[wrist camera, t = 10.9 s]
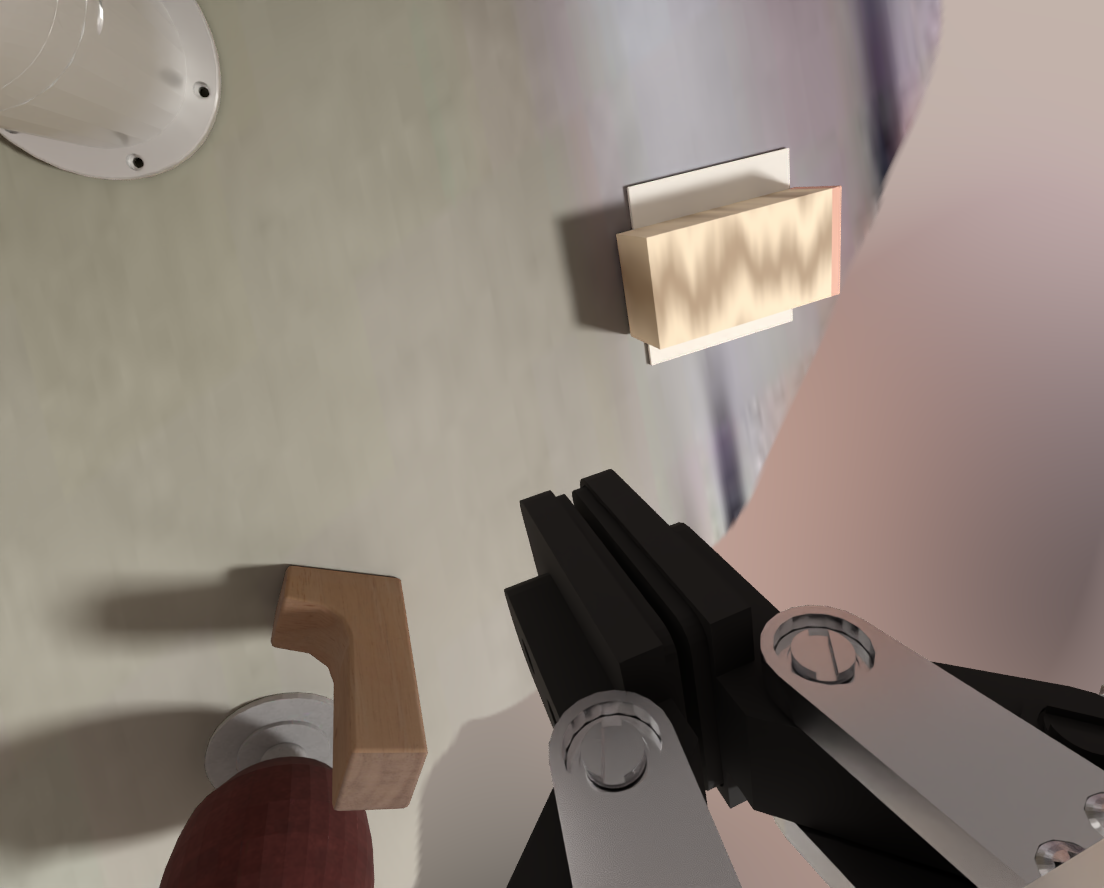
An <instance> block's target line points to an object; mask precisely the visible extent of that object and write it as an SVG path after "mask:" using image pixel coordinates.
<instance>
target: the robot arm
mask: <svg viewBox="0 0 1104 888" xmlns="http://www.w3.org/2000/svg"><path fill="white" fill-rule="evenodd" d="M221 84H222V79H221V70H220V62H219V55H218V52H217V49H216V45H215V42H214V38H213V35H212V31H211V29H210V27H209V25H208V23H207V21H206V19H205V17H204V14H203V12H202V10H201V8H200V6H199V5H198V3H197V2H196V0H0V134H1V135H2V136H4V137H5V138H6V139H7V140H8V141H10V142H11V143H13V144H15V145H16V146H18V147H19V148H21V149H22V150H24V151H26V152H27V153H29V154H30V155H32V156H33V157H35V158H38V159H40V160H42V161H44V162H46V163H49V164H51V165H53V166H55V167H57V168H60V169H62V170H66V171H69V172H73V173H76V174H80V175H83V176H87V177H93V178H100V179H110V180H134V179H141V178H147V177H153V176H156V175H158V174H161V173H164V172H166V171H169V170H172V169H174V168H175V167H177V166H178V165H180V164H181V163H183V162H184V161H186V160H187V159H189V158H190V157H191V156H192V155H193V154H194V153H195V152H196V151H197V150H198V149H199V147H200V146H201V145H202V144H203V143H204V142H205V140H206V138H207V136H208V134H209V133H210V131H211V129H212V127H213V126H214V123H215V119H216V116H217V113H218V109H219V106H220V97H221ZM202 88H207V89H208V91H209V96H208V97H206V98H205V97H202V96H201V94H200V90H201V89H202ZM137 158H140V159H142V161H143V163H144V165H143V167H141V168H139V167H137V166H136V164H135V160H136V159H137ZM572 497H573V503H574V505H573V504H572V502H571V501H570V500H569V499H568V497H567V496H566V495H565V494H562V495H560V496H557V497H555V495H554V494H553V493H552V491H551V490H549V491H546V492H543V493H540V494H537V495H535V496H532V497H529V498H526V499H523V500H520V508H521V512H522V516H523V520H524V523H525V527H526V531H527V535H528V538H529V542H530V546H531V550H532V553H533V557H534V561H535V565H536V568H537V572H538V576H537V577H534V578H532V579H529V580H527V581H524V582H521V583H519V584H516V585H514V586H511V587H508V588H506V589H504V592H505V596H506V600H507V603H508V607H509V610H510V613H511V616H512V620H513V623H514V626H515V629H516V632H517V635H518V638H519V641H520V644H521V647H522V650H523V653H524V656H525V658H526V661H527V664H528V667H529V669H530V672H531V674H532V677H533V679H534V682H535V684H536V687H537V689H538V692H539V694H540V697H541V699H542V702H543V704H544V707H545V709H546V711H547V714H548V717H549V719H550V721H551V724H552V726H553V732H552V735H551V738H550V741H549V765H550V770H551V775H552V781H553V786H554V787H553V789H552V791H551V793H550V795H549V798H548V800H547V802H546V804H545V806H544V808H543V811H542V813H541V815H540V817H539V819H538V821H537V823H536V825H535V828H534V830H533V832H532V834H531V836H530V838H529V840H528V843H527V845H526V847H525V849H524V851H523V853H522V856H521V858H520V860H519V862H518V864H517V866H516V868H515V871H514V873H513V875H512V877H511V879H510V881H509V883H508V885H507V888H742V886H741V884H740V882H739V879H738V877H737V875H736V872H735V870H734V868H733V865H732V863H731V861H730V859H729V856H728V854H727V852H726V849H725V847H724V845H723V842H722V840H721V837H720V835H719V833H718V830H717V828H716V826H715V823H714V821H713V819H712V816H711V814H710V812H709V810H708V807H707V800H706V793H705V790H707V791H708V790H710V789H712V788H714V787H717V788H718V790H719V792H720V793H721V795H722V796H723V798H724V799H725V801H726V803H727V804H728V806H729V807H730V808H732V807H735V806H736V805H738V804H740V803H742V802H744V801H746V800H747V801H748V802H749V804H750V805H751V806H752V808H753V809H754V810H756V811H760V812H763V813H766V814H769V815H772V816H773V817H774V820H775V823H776V824H777V825H778V827H779V829H780V830H781V831H782V833H783V834H784V836H785V837H786V838H787V840H788V841H789V842H790V843H791V844H792V845H793V846H794V847H795V848H796V850H797V851H798V852H799V853H800V854H801V855H802V856H803V857H804V859H805V860H806V861H807V862H808V863H809V864H810V865H811V866H812V867H813V868H814V870H815V871H816V872H817V873H818V874H819V875H820V876H821V878H822V879H823V880H824V881H825V882H826V883H827V884H828V885H829V886H830V888H1104V685H1102V686H1101V690H1100V693H1099V695H1098V694H1096V693H1092V692H1089V691H1085V690H1081V689H1077V688H1073V687H1070V686H1064V685H1059V684H1053V683H1048V682H1042V681H1037V680H1031V679H1026V678H1019V677H1014V676H1008V675H1003V674H998V673H992V672H987V671H981V670H975V669H970V668H964V667H959V666H953V665H948V664H942V663H936V662H931V661H929V660H927V659H926V658H924V657H922V656H921V655H919V654H918V653H916V652H914V651H913V650H911V649H910V648H908V647H907V646H905V645H903V644H902V643H900V642H899V641H897V640H895V639H894V638H892V637H891V636H889V635H888V634H886V633H884V632H883V631H881V630H880V629H878V628H876V627H875V626H873V625H871V624H870V623H868V622H867V621H865V620H864V619H862V618H859V617H858V616H856V615H854V614H851V613H849V612H847V611H845V610H840V609H837V608H833V607H829V606H818V605H817V606H816V605H805V606H799V607H792V608H790V609H787V610H785V611H782V612H779V611H778V610H777V609H776V608H775V607H774V606H773V605H772V604H771V603H770V602H769V601H768V600H767V599H765V598H764V596H762V595H761V594H760V593H759V592H758V591H757V590H756V589H755V588H754V587H753V586H752V585H751V584H750V583H749V582H747V581H746V580H745V579H744V578H743V577H742V576H741V575H740V574H739V573H738V572H737V571H736V570H734V568H733V567H731V566H730V565H729V564H728V563H727V562H726V561H725V560H724V559H723V558H722V557H721V556H720V555H719V554H718V553H716V552H715V551H714V550H713V549H712V548H711V547H710V546H709V545H708V544H707V543H706V542H705V541H704V540H703V539H702V538H700V537H699V536H698V535H697V534H696V533H695V532H694V531H693V530H692V529H691V528H690V527H688V526H687V525H686V524H684V523H680V522H678V523H676V524H673V525H670V526H669V525H668V524H667V523H666V522H665V521H664V520H663V519H662V518H661V517H660V516H659V515H658V514H657V513H656V512H655V511H654V510H653V509H652V508H651V507H650V506H649V505H648V504H647V503H646V502H645V501H644V500H643V499H642V498H641V497H640V496H639V495H638V494H637V493H636V492H635V491H634V490H633V489H632V488H631V487H630V486H629V485H628V484H627V483H626V482H625V481H624V480H623V479H622V478H621V477H620V476H619V475H617V474H616V473H615V472H614V471H613V470H612V469H609V470H606V471H603V472H600V473H597V474H594V475H591V476H589V477H586V478H583V479H581V481H580V488H579V489H577V490H574V491H573V492H572Z"/></svg>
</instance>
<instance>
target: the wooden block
mask: <svg viewBox="0 0 1104 888" xmlns="http://www.w3.org/2000/svg"><path fill="white" fill-rule="evenodd" d="M271 643H272V646H274V647H277V648H282V649H288V650H294V651H299V652H305V653H310V654H311V655H312V656H314V657H315V658H316V659H318V660H319V661H320V662H322V663H323V664H324V665H326V666H327V667H328V669H329V671H330V674H331V677H332V679H333V682H334V710H333V776H332V804H333V808H334V810H337V811H351V810H375V809H398V808H405V807H407V806H408V805H409V803H410V800H411V798H412V795H413V792H414V789H415V787H416V784H417V781H418V778H419V775H420V773H421V770H422V767H423V764H424V762H425V759H426V756H427V753H428V751H427V745H426V738H425V732H424V726H423V719H422V713H421V706H420V700H419V694H418V687H417V681H416V675H415V668H414V662H413V655H412V649H411V643H410V636H409V630H408V623H407V617H406V610H405V604H404V598H403V592H402V585H401V580H400V579H398V578H393V577H384V576H376V575H367V574H359V573H350V572H342V571H333V570H325V569H317V568H308V567H300V566H289V567H288V568H287V569H286V572H285V576H284V580H283V584H282V588H281V592H280V596H279V600H278V604H277V607H276V612H275V618H274V625H273V631H272V637H271Z"/></svg>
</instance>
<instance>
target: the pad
mask: <svg viewBox="0 0 1104 888" xmlns="http://www.w3.org/2000/svg"><path fill="white" fill-rule="evenodd" d="M787 189H790V173H789V148H785V149H781V150H777V151H773V152H769V153H765V154H761V155H757V156H752V157H748V158H744V159H740V160H736V161H732V162H728V163H724V164H720V165H716V166H712V167H707V168H703V169H699V170H695V171H691V172H687V173H683V174H679V175H675V176H671V177H667V178H663V179H658V180H654V181H650V182H646V183H642V184H638V185H634V186H630V187H627V195H628V202H629V210H630V217H631V225H632V230H634V229H638V228H642V227H645V226H649V225H653V224H657V223H661V222H664V221H668V220H672V219H676V218H680V217H684V216H687V215H691V214H695V213H699V212H703V211H706V210H710V209H714V208H718V207H722V206H726V205H729V204H733V203H737V202H741V201H745V200H748V199H752V198H756V197H760V196H764V195H768V194H771V193H775V192H779V191H783V190H787ZM790 321H792V309H789V310H786V311H783V312H779V313H776V314H773V315H770V316H767V317H763V318H760V319H757V320H754V321H751V322H747V323H744V324H741V325H738V326H734V327H731V328H728V329H725V330H722V331H718V332H715V333H712V334H709V335H706V336H702V337H699V338H696V339H693V340H690V341H686V342H683V343H680V344H677V345H674V346H670V347H667V348H664V349H661V350H660V349H658V348H656V347H653V346H651V345H649V344H647V345H648V352H649V360H650V365H655V364H658V363H661V362H664V361H667V360H670V359H674V358H677V357H680V356H683V355H686V354H689V353H693V352H696V351H699V350H702V349H705V348H708V347H711V346H715V345H718V344H721V343H724V342H727V341H730V340H734V339H737V338H740V337H743V336H746V335H749V334H752V333H756V332H759V331H762V330H765V329H768V328H771V327H775V326H778V325H781V324H784V323H787V322H790Z"/></svg>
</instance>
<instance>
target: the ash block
mask: <svg viewBox="0 0 1104 888" xmlns="http://www.w3.org/2000/svg"><path fill="white" fill-rule="evenodd" d="M616 237H617V244H618V251H619V258H620V265H621V271H622V278H623V285H624V292H625V299H626V306H627V313H628V320H629V326H630V333H631V336H632V337H634V338H636V339H638V340H641V341H643V342H645V343H647V344H649V345H651V346H653V347H656V348H658V349H660V350H661V349H664V348H667V347H670V346H674V345H677V344H680V343H683V342H686V341H690V340H693V339H696V338H699V337H702V336H706V335H709V334H712V333H715V332H718V331H722V330H725V329H728V328H731V327H734V326H738V325H741V324H744V323H747V322H751V321H754V320H757V319H760V318H763V317H767V316H770V315H773V314H776V313H779V312H783V311H786V310H789V309H792V308H795V307H799V306H802V305H805V304H808V303H811V302H815V301H818V300H821V299H824V298H827V297H831V296H834V295H837V294H840V244H841V186H820V187H794V188H790V189H787V190H783V191H779V192H775V193H771V194H768V195H764V196H760V197H756V198H752V199H748V200H745V201H741V202H737V203H733V204H729V205H726V206H722V207H718V208H714V209H710V210H706V211H703V212H699V213H695V214H691V215H687V216H684V217H680V218H676V219H672V220H668V221H664V222H661V223H657V224H653V225H649V226H645V227H642V228H638V229H634V230H630V231H626V232H622V233H619V234H616Z"/></svg>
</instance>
